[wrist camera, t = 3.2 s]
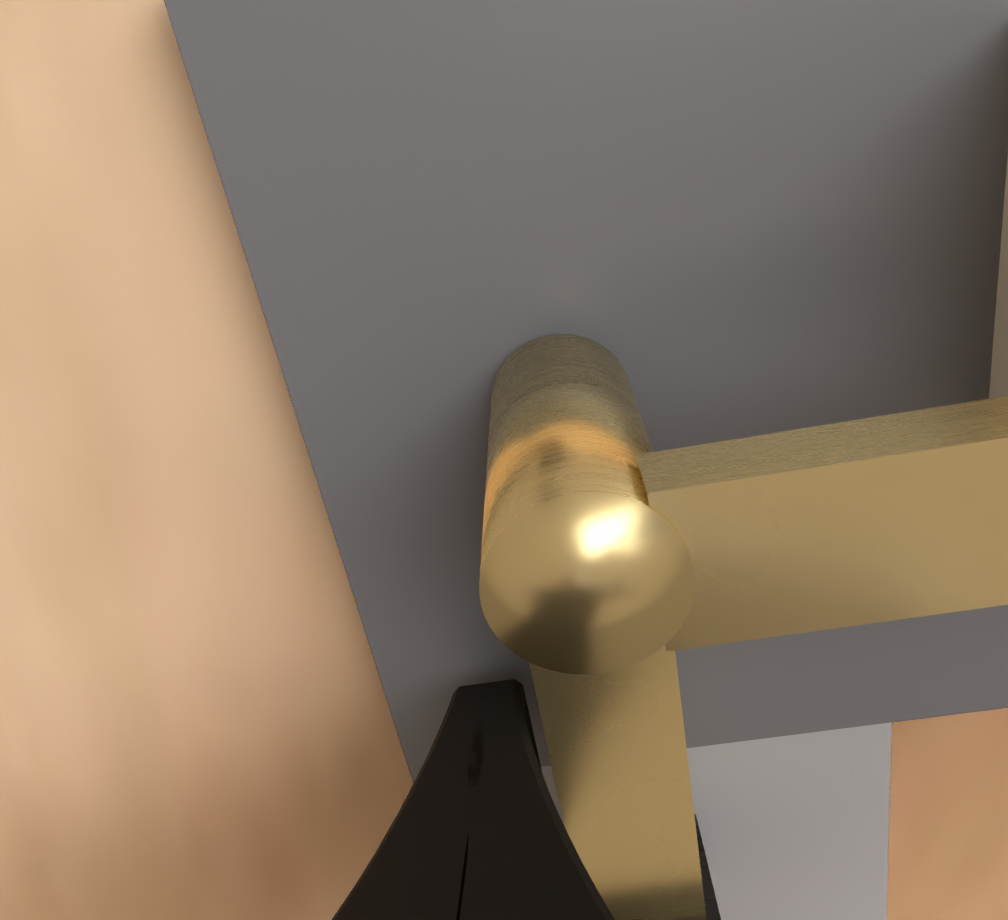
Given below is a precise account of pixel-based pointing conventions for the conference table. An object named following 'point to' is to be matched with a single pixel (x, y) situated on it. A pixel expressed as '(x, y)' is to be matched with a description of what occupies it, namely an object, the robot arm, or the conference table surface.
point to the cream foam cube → (1001, 315)
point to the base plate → (613, 280)
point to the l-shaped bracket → (702, 576)
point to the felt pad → (794, 823)
